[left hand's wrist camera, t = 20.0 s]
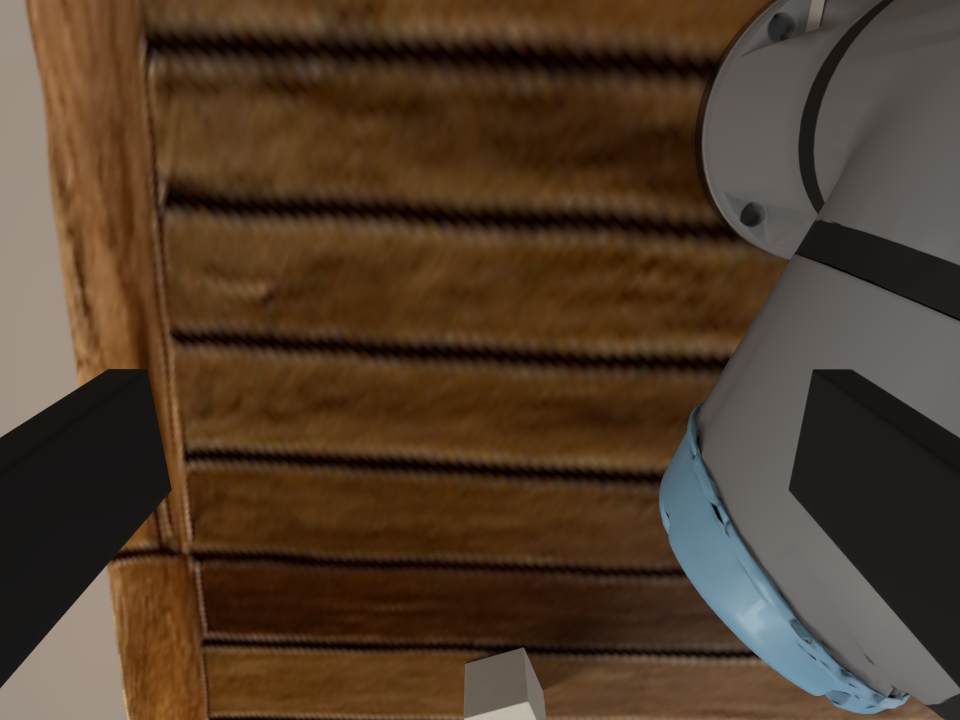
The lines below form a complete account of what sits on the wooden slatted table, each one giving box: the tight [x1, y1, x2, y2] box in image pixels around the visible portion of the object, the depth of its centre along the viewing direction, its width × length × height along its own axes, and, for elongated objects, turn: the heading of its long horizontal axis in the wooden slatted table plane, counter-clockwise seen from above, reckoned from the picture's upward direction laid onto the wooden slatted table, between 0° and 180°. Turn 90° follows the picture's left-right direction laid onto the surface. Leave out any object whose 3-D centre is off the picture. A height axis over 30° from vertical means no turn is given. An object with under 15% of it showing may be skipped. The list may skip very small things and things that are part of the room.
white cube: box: [464, 648, 546, 720], centre depth 48 cm, size 5×5×5 cm
